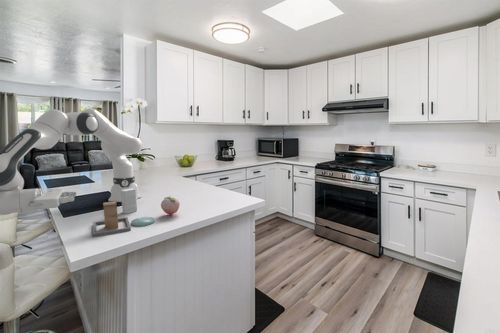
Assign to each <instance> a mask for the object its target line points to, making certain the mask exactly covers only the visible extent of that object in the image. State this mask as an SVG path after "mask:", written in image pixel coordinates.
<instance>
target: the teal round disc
mask: <svg viewBox="0 0 500 333" xmlns="http://www.w3.org/2000/svg"><path fill="white" fill-rule="evenodd" d="M155 221H156V220H155V217H153V216H143V217H137V218H134V219H132V220H131V221H130V222H131V226H133V227H146V226H149V225H152V224H154V223H155Z"/></svg>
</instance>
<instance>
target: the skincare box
mask: <svg viewBox="0 0 500 333" xmlns="http://www.w3.org/2000/svg"><path fill="white" fill-rule="evenodd" d="M121 199H122V202H121V208H122V213H124V214H130V213H134V212H137V211H138V207H137V206H138V205H137V204H138V203H137V199H136V190H135V189H133V188H130V189H125V190H121Z"/></svg>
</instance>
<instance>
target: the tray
mask: <svg viewBox="0 0 500 333" xmlns="http://www.w3.org/2000/svg"><path fill="white" fill-rule="evenodd" d="M120 222H125V224H126V227H122V228H118V229H112V230H105V231H99V232H98V231H97V226H98V225H105V220H99V221H93V224H92V225H93V227H92V238H94V237H95V238H96V237H100V236H107V235H111V234H113V235H114V234H119V233H124V232H130V231H131V230H132V229H131V225H130V222H129V218H128V216H126V217H120V218H119V217H118V223H120Z"/></svg>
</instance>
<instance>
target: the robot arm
mask: <svg viewBox="0 0 500 333" xmlns="http://www.w3.org/2000/svg"><path fill="white" fill-rule="evenodd" d="M92 134H93V135H94V136H95V137H96V138H98V139H99V141H101V142H100V148H101V150H102V151H103V152H104V153H105V154H106V155H107V157H108V158H109V160H110V163H111V164H112V170H113V172H112V173H113V178H112V181H113V185H112V186H111V188H110V193H111V194H110V197H109V198H108V199H107V200H108V202H115V201H116V203H122V199H121V190H125V189H130V188H133V189H135V190H136V200H137V199H141V198H143V197H142V195H141V194H140V193H139V187H138V186H139V185H138V184H137V183H136V182H135V181H136V179H135V178H136V177H135V175H134V165H133V163H132V161H130V160H129V159H128V158H127V156H126V155H128V156H129V155H136V154H137V155H138V154H139V153H141V151H142V149H143V142H142V140H141V139H140V138H138V137H136V136H133V135H132V134H129V133H127V132H125V131H123V130H122V129H120V128H118V127H117V126H116V125H115V124H114V123H112V122H111V120H109V119H108V118H107V117H106V116H105V114H103V113H101V112H100V111H98V110H97V109H95V108H92V107H91V108H90V107H89V108H86V109H84V110H82V111H81V112H80V111H79V112H77V111H75V112H74V111H72V112H65V113H64V111H62V110H59V109H55V108H54V109H53V108H51V109H49V110H46V111H45V112H44V113H42V114H40V116H39V117H38V118H37V119H36V120H35V121H34V122H33V123H32V124H31V125H30V126H29V127H28V128H27V129H24V130H22V131H21V132H20V133H18V135H16V136H15V137H14V138H13V139H11V141H9V143H7V144H6V145H5V146H4V147H3V148H2V149H0V216H5V215H6V216H7V215H11V214H15V213H19V214H25V213H32V212H39V211H40V210H48V209H55V208H58V207H60V205H61V204H65V203H69V202H71V203H72V202H74V201H75V197H76V196H77V191H65V189H63V188H45V189H43V188H41V187H37V188H27V189H25V188H24V186H25V179H24V177H23V176H22V175H21V173H20V172H19V170H18V163H19V162H20V161H21V160H23V158H24V157H25V156H26V155H27V154H28V153H29V152H30V151H31V150H32V149H33V148H35V149H37V150H38V149H39V150H50V149H52V148H53V147H54V146H55V145H56V144H57V143H59V141H60V140H61V138H62V136H63V135H65V136H66V135H67V136H68V135H69V136H82V135H83V136H84V135H86V136H87V135H88V136H89V135H92Z"/></svg>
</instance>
